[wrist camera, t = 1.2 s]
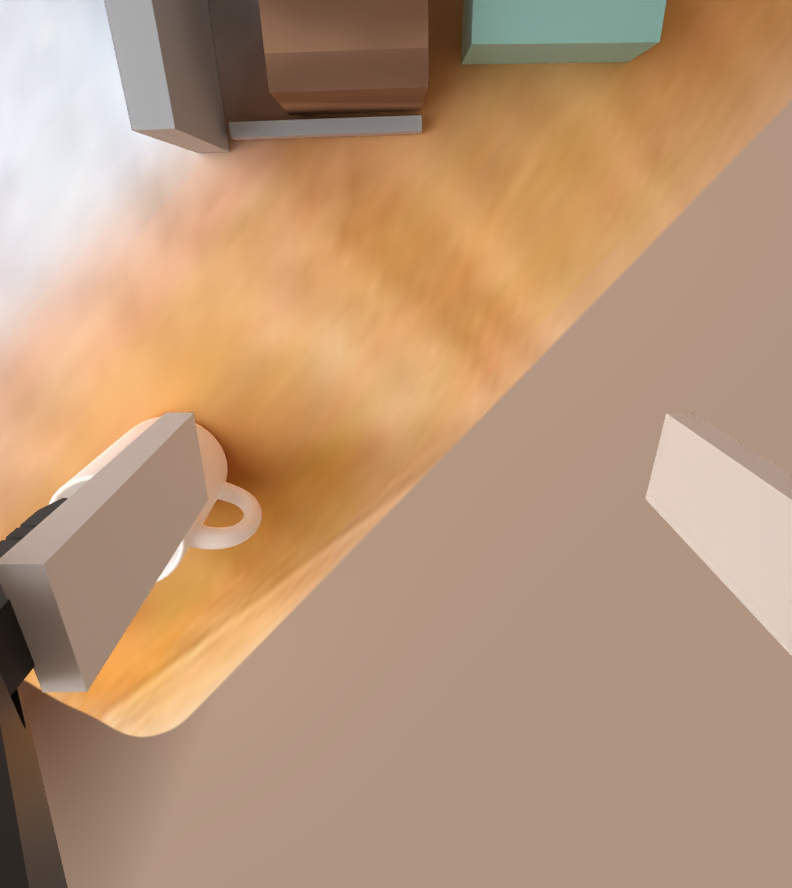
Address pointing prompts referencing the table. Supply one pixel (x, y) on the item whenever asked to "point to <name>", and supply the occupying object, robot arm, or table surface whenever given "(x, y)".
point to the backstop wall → (201, 82)
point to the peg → (559, 30)
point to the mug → (216, 489)
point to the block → (346, 54)
